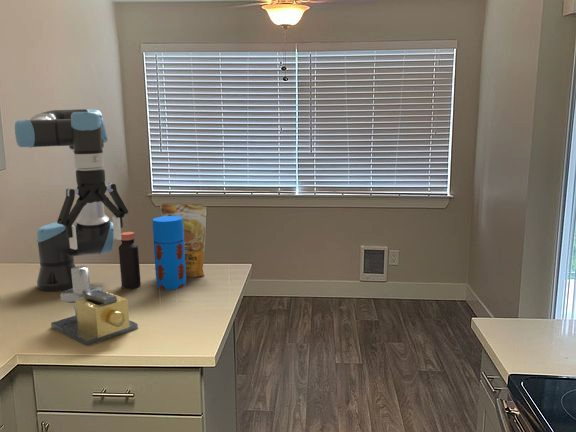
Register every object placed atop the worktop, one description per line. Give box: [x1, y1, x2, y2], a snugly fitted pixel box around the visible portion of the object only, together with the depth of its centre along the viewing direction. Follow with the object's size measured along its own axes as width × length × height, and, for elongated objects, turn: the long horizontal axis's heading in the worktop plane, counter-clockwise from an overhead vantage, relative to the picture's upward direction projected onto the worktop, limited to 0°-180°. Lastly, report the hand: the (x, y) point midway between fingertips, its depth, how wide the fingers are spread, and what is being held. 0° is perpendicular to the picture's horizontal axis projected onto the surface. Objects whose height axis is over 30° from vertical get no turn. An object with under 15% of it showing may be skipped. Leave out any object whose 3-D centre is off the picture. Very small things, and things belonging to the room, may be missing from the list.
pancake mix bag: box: [158, 203, 209, 278], centre depth 214 cm, size 7×19×28 cm, turn 76°
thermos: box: [152, 216, 187, 291], centre depth 201 cm, size 11×11×25 cm
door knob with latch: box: [50, 265, 139, 347], centre depth 161 cm, size 26×16×18 cm, turn 49°
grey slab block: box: [84, 290, 117, 305], centre depth 159 cm, size 10×4×10 cm, turn 51°
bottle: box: [118, 231, 142, 290], centre depth 201 cm, size 7×7×20 cm
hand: (96, 243), depth 155 cm, fingers open, 13 cm apart
